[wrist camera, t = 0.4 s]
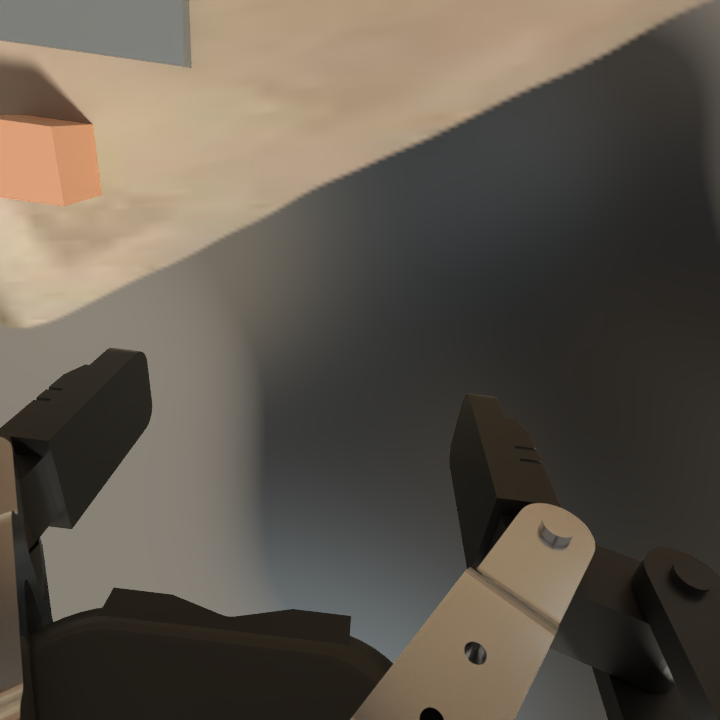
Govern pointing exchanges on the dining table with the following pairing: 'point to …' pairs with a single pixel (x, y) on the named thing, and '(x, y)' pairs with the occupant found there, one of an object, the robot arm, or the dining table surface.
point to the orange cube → (47, 160)
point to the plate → (102, 27)
